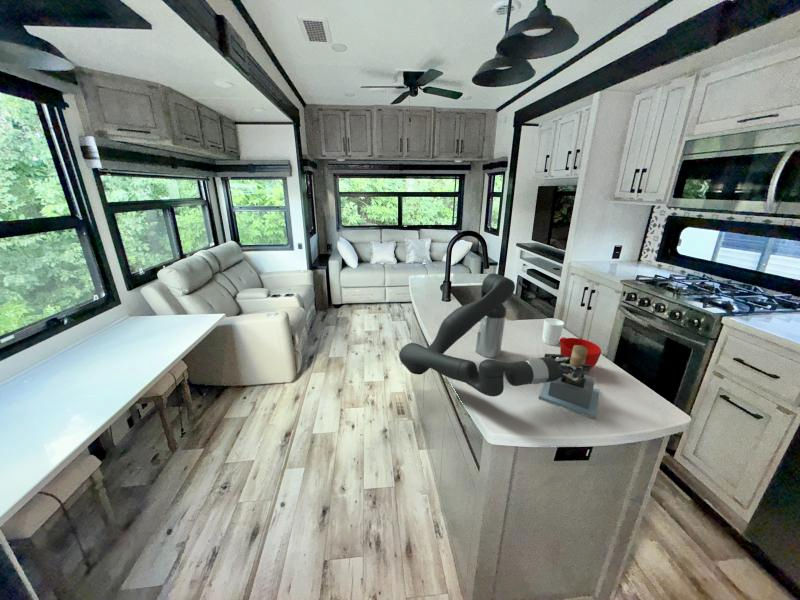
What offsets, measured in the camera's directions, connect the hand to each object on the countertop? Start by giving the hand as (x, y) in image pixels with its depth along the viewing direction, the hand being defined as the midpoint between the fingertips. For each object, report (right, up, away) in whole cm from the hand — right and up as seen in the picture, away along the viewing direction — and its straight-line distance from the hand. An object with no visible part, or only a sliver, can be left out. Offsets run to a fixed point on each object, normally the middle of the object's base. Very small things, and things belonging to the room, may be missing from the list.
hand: (584, 363), depth 99 cm
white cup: (+8, +1, +40) cm, 41 cm away
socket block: (-3, -11, +3) cm, 12 cm away
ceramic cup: (+8, -5, +21) cm, 23 cm away
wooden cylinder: (-3, -9, +2) cm, 9 cm away
